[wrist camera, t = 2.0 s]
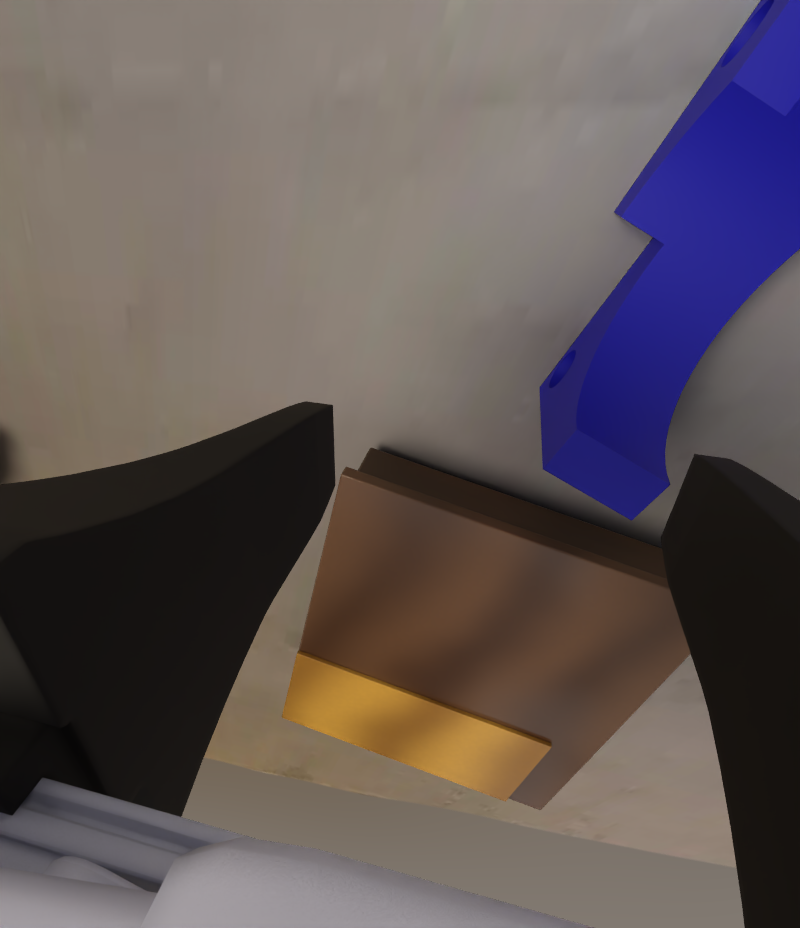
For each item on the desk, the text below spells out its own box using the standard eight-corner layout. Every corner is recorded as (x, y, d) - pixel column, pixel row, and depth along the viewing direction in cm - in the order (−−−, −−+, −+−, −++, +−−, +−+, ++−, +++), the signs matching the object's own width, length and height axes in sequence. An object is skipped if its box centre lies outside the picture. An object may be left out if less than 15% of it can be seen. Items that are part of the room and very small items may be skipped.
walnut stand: (703, 547, 21) (734, 615, 18) (539, 746, 31) (540, 815, 27) (367, 430, 22) (339, 476, 19) (306, 660, 31) (281, 717, 28)
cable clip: (778, -24, 13) (940, -142, 8) (920, 75, 13) (1164, 26, 8) (505, 367, 19) (497, 442, 14) (605, 426, 20) (631, 520, 15)
